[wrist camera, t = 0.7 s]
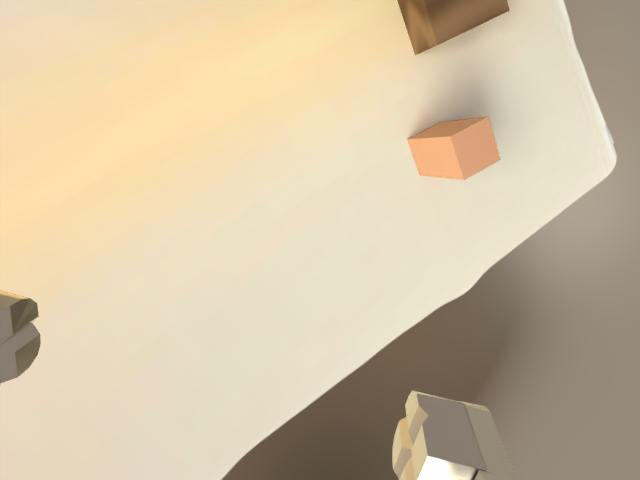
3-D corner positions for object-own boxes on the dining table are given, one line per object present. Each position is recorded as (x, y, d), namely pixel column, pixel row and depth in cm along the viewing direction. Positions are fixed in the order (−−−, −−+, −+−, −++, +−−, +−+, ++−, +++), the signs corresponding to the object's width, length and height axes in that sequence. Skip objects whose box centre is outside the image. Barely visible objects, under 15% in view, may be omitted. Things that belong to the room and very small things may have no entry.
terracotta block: (407, 139, 49) (450, 136, 40) (439, 122, 49) (488, 116, 41) (419, 175, 50) (463, 180, 42) (450, 158, 51) (500, 159, 43)
